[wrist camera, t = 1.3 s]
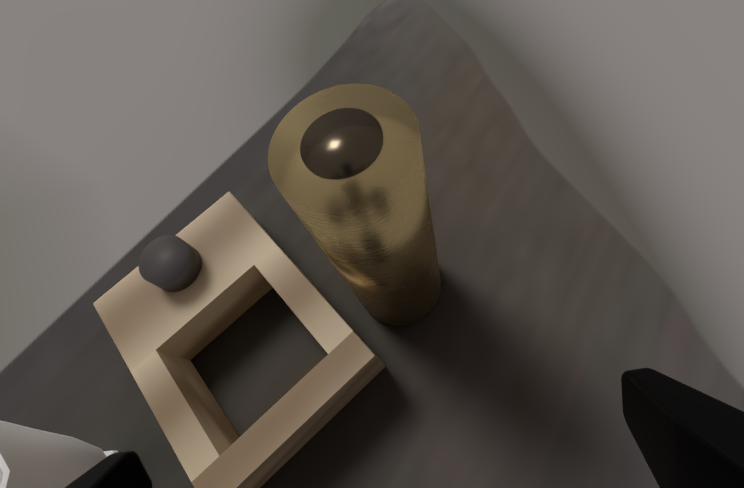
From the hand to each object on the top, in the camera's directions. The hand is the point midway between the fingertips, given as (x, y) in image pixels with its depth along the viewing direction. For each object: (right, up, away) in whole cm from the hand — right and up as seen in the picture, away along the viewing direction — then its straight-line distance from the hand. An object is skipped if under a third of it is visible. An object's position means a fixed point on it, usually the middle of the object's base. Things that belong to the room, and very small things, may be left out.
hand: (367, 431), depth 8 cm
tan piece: (+2, +1, +15) cm, 16 cm away
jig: (-7, -2, +16) cm, 17 cm away
